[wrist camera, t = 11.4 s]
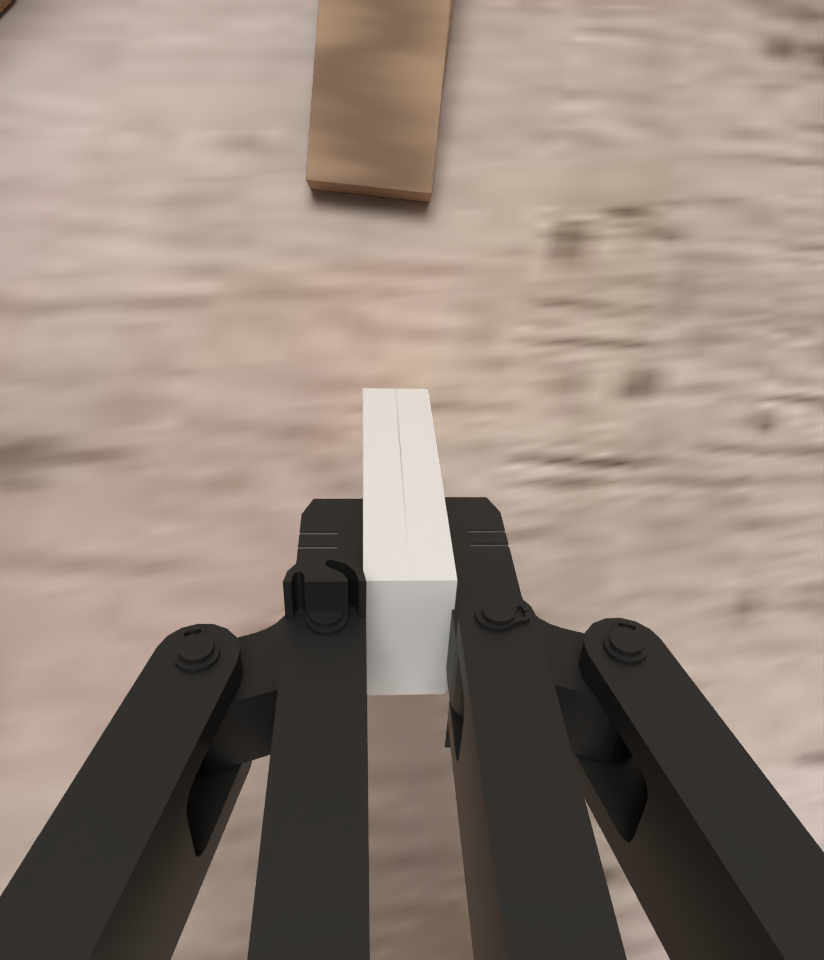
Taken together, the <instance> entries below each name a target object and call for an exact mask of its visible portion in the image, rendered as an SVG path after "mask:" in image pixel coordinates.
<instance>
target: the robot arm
mask: <svg viewBox="0 0 824 960" xmlns="http://www.w3.org/2000/svg"><path fill="white" fill-rule="evenodd" d="M283 590H284V603H285V616H284V617H283V618H282V619H281V620H279V621H278V622H277V623H276V624H274V625H272V626H271V627H269V628H267V629H265V630H262V631H259V632H257V633H253V634H250V635H246V636H242V637H238V638H237V637H236V636H235V635H233V634H232V633H231V632H230V631H229V630H228V629H226V628H223V627H220V626H217V625H215V624H195V625H192V626H188V627H184V628H181V629H179V630H177V631H175V632H174V633H172V634H170V635H168V636H167V637H166V638H165V639H164V640H163V641H162V642H161V643H160V644H159V646H158V647H157V648H156V650H155V651H154V653H153V654H152V656H151V658H150V659H149V661H148V662H147V664H146V666H145V667H144V669H143V670H142V672H141V673H140V675H139V677H138V678H137V680H136V681H135V683H134V685H133V686H132V688H131V689H130V691H129V693H128V694H127V696H126V697H125V699H124V701H123V702H122V704H121V705H120V707H119V708H118V710H117V712H116V713H115V715H114V716H113V718H112V720H111V721H110V723H109V724H108V726H107V728H106V729H105V731H104V732H103V734H102V736H101V737H100V739H99V740H98V742H97V744H96V745H95V747H94V748H93V750H92V751H91V753H90V755H89V756H88V758H87V759H86V761H85V763H84V764H83V766H82V767H81V769H80V771H79V772H78V774H77V775H76V777H75V779H74V780H73V782H72V783H71V785H70V787H69V788H68V790H67V791H66V793H65V794H64V796H63V798H62V799H61V801H60V802H59V804H58V806H57V807H56V809H55V810H54V812H53V814H52V815H51V817H50V818H49V820H48V822H47V823H46V825H45V826H44V828H43V829H42V831H41V833H40V834H39V836H38V837H37V839H36V841H35V842H34V844H33V845H32V847H31V849H30V850H29V852H28V853H27V855H26V857H25V858H24V860H23V861H22V863H21V865H20V866H19V868H18V869H17V871H16V872H15V874H14V876H13V877H12V879H11V880H10V882H9V884H8V885H7V887H6V888H5V890H4V892H3V893H2V895H1V896H0V960H171V957H172V955H173V952H174V950H175V948H176V945H177V943H178V940H179V938H180V936H181V933H182V931H183V928H184V926H185V924H186V921H187V919H188V916H189V914H190V912H191V909H192V907H193V904H194V902H195V899H196V897H197V895H198V892H199V890H200V887H201V885H202V883H203V880H204V878H205V875H206V873H207V871H208V868H209V866H210V863H211V861H212V859H213V856H214V854H215V851H216V849H217V846H218V844H219V842H220V839H221V837H222V834H223V832H224V830H225V827H226V825H227V822H228V820H229V818H230V815H231V813H232V810H233V808H234V806H235V803H236V801H237V798H238V796H239V794H240V791H241V789H242V786H243V784H244V781H245V779H246V777H247V774H248V772H249V769H250V767H251V763H252V760H255V759H258V758H261V757H264V756H267V755H270V754H271V755H270V764H269V772H268V781H267V790H266V799H265V808H264V817H263V826H262V835H261V843H260V852H259V861H258V870H257V879H256V888H255V897H254V906H253V915H252V923H251V932H250V941H249V950H248V959H247V960H370V944H369V846H368V748H367V695H424V694H446V689H447V680H448V688H449V697H450V703H449V712H448V722H447V731H446V741H445V747H451V754H452V763H453V772H454V781H455V790H456V800H457V809H458V818H459V827H460V836H461V845H462V854H463V863H464V872H465V881H466V891H467V900H468V909H469V918H470V927H471V936H472V945H473V954H474V960H627V959H626V955H625V951H624V947H623V943H622V940H621V936H620V932H619V928H618V924H617V921H616V917H615V913H614V909H613V905H612V902H611V898H610V894H609V890H608V886H607V883H606V879H605V875H604V871H603V867H602V864H601V860H600V856H599V852H598V848H597V845H596V841H595V837H594V833H593V829H592V826H591V822H590V818H589V814H588V810H587V807H586V803H585V800H586V802H587V804H588V805H589V807H590V809H591V811H592V813H593V815H594V817H595V819H596V821H597V822H598V824H599V826H600V828H601V830H602V832H603V834H604V836H605V838H606V839H607V841H608V843H609V845H610V847H611V849H612V851H613V853H614V854H615V856H616V858H617V860H618V862H619V864H620V866H621V868H622V870H623V871H624V873H625V875H626V877H627V879H628V881H629V883H630V885H631V887H632V888H633V890H634V892H635V894H636V896H637V898H638V900H639V902H640V903H641V905H642V907H643V909H644V911H645V913H646V915H647V917H648V919H649V920H650V922H651V924H652V926H653V928H654V930H655V932H656V934H657V936H658V937H659V939H660V941H661V943H662V945H663V947H664V949H665V951H666V952H667V954H668V956H669V958H670V960H824V852H823V851H822V849H821V848H820V847H819V846H818V844H817V843H816V842H815V840H814V839H813V838H812V836H811V835H810V834H809V832H808V831H807V830H806V829H805V827H804V826H803V825H802V823H801V822H800V821H799V819H798V818H797V817H796V815H795V814H794V813H793V812H792V810H791V809H790V808H789V806H788V805H787V804H786V802H785V801H784V800H783V798H782V797H781V796H780V795H779V793H778V792H777V791H776V789H775V788H774V787H773V785H772V784H771V783H770V781H769V780H768V779H767V778H766V776H765V775H764V774H763V772H762V771H761V770H760V768H759V767H758V766H757V764H756V763H755V762H754V761H753V759H752V758H751V757H750V755H749V754H748V753H747V751H746V750H745V749H744V747H743V746H742V745H741V744H740V742H739V741H738V740H737V738H736V737H735V736H734V734H733V733H732V732H731V730H730V729H729V728H728V727H727V725H726V724H725V723H724V721H723V720H722V719H721V717H720V716H719V715H718V713H717V712H716V711H715V710H714V708H713V707H712V706H711V704H710V703H709V702H708V700H707V699H706V698H705V696H704V695H703V694H702V693H701V691H700V690H699V689H698V687H697V686H696V685H695V683H694V682H693V681H692V679H691V678H690V677H689V676H688V674H687V673H686V672H685V670H684V669H683V668H682V666H681V665H680V664H679V662H678V661H677V660H676V658H675V657H674V656H673V655H672V653H671V652H670V651H669V649H668V648H667V647H666V645H665V644H664V643H663V641H662V640H661V639H660V638H659V637H658V636H657V635H656V634H655V633H654V632H653V631H651V630H650V629H649V628H647V627H645V626H643V625H641V624H639V623H637V622H635V621H631V620H627V619H622V618H606V619H603V620H600V621H598V622H595V623H593V624H592V625H591V626H590V627H589V629H588V630H587V631H586V632H585V633H580V632H576V631H572V630H568V629H564V628H560V627H557V626H554V625H551V624H549V623H547V622H545V621H543V620H541V619H540V618H538V617H537V616H536V615H535V613H534V611H533V609H532V607H531V606H530V605H529V604H528V603H526V602H525V601H524V600H523V598H522V596H521V592H520V588H519V584H518V580H517V576H516V572H515V568H514V564H513V560H512V556H511V552H510V549H509V547H508V541H507V537H506V533H505V529H504V525H503V521H502V517H501V513H500V512H499V510H498V509H497V508H496V507H495V506H494V505H493V504H492V503H491V502H490V501H489V500H488V498H487V497H444V491H443V484H442V478H441V471H440V465H439V458H438V452H437V445H436V439H435V432H434V426H433V419H432V413H431V407H430V400H429V394H428V389H374V388H363V477H362V499H313V500H312V502H311V503H310V504H309V506H308V507H307V508H306V509H305V511H304V512H303V513H302V516H301V525H300V535H299V543H298V553H297V562H296V564H295V565H294V566H293V567H292V568H291V569H289V570H288V571H287V573H286V576H285V578H284V581H283ZM584 798H585V799H584Z"/></svg>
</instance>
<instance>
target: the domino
mask: <svg viewBox="0 0 824 960" xmlns="http://www.w3.org/2000/svg"><path fill="white" fill-rule="evenodd" d="M450 3H451V0H319V5H318V19H317V33H316V47H315V60H314V74H313V88H312V102H311V116H310V130H309V143H308V157H307V171H306V181H307V183H308V185H309V187H310V189H313V190H322V191H331V192H340V193H350V194H359V195H368V196H377V197H386V198H395V199H405V200H414V201H423V202H430V198H431V194H432V185H433V175H434V165H435V155H436V145H437V135H438V124H439V114H440V104H441V94H442V84H443V74H444V63H445V53H446V43H447V33H448V23H449V13H450Z"/></svg>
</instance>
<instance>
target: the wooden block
mask: <svg viewBox="0 0 824 960" xmlns="http://www.w3.org/2000/svg"><path fill="white" fill-rule="evenodd" d="M11 2H12V0H0V13H1V12H2V11H3V10H4V9H5V8H6V7H7V6H8V5H9V4H10V3H11Z"/></svg>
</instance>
